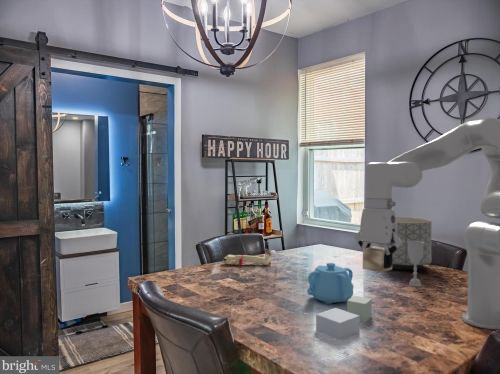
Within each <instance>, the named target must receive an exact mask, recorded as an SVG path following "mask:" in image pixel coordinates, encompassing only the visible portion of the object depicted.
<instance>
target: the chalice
mask: <svg viewBox="0 0 500 374" xmlns="http://www.w3.org/2000/svg"><path fill="white" fill-rule="evenodd" d="M407 243H408V255H409V258H410V260H411V262H412V263H413V264H414V268H413V272H412V273H413V278H411V279H410V281H409V283H408V285H409V286H412V287H422V285H423V284H422V283H421V280H420V279H419V278H417V275H418V272H417V271H418V268H417V267H416V266H417V264H419V262H420V260H421V259H422V256H423V244H424V242H422V241H407Z"/></svg>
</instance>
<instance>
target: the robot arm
mask: <svg viewBox="0 0 500 374" xmlns="http://www.w3.org/2000/svg"><path fill="white" fill-rule="evenodd" d="M477 149H481V151H482V153H483V155H484V157H485V158H486V160H487V162H488V163H489V167H490V175H489V178H488V181H487V185H486V187H485V189H484V193H483V195H482V199H481V201H480V212H481V213H482V214H483V216H484V217H487V218H490V219H494V220H497V221H498V220H499V221H500V118H495V117H485V118H480V119H474V120H473V119H472V120H470V121H466V122H463V123H461V124H460V125H458V126H456V127H455V128H453V129H451V130H449V131H448V132H445V133H444V134H442V135H440V136H438V137H437V138H435V139H432V140H431V141H429V142H427V143H424V144H422V145H420V146H418V147H416V148H413V149H410V150H409V151H406V152H404V153H402V154H400V155H399V156H396V157H394V158H393V159H391V160H389V161H388V162H383V161H381V162H369V163H367V164H366V165H365V171H364V172H365V175H364V176H365V177H364V180H365V181H364V183H365V184H364V208H363V209H362V211H361V218H360V226H359V231H358V232H357V233H356V234H355V235H354V239H355V241H356V242H357V244H358V246H359V247H360V248H361V251H363V248H368V247H372V245H373V244H376V245H377V244H383V246H384V249H385V252H386V254H384V268H386V269H387V268H390V267H391V266H392V258H393V254H394V252H395V251H396V250H397V249H398V248H399V247H401V246H402V245H403V242H402V240H401V239H400V238H399V237H398V233H397V220H396V217H397V216H396V211H395V209H393V207H395V206H396V204H397V202H396V201H393V198H392V197H393V187H394V188H407V189H409V188H412V187H414V186H415V187H416V186H417V185H419V184H420V183H421V180H422V179H423V171H427V170H432V169H438V168H441V167H444V166H445V167H446V166H448V165H451V164H452V163H454V162H455V161H457V160H459V159H460V158H462V157H464V156H466V155H468V154H469V153H471V152H472V151H474V150H477ZM392 243H395V245H394V246H393V245H392ZM464 243H465V247H466V255H467V308H466V309H467V311H466V312H464V313H461V320H462V321H464V322H465V324H468V325H471V326H474V327H477V328H481V329H487V330H500V223H499V222H493V221H486V220H479V221H475V222H472V223H470V224H469V225H468V226H467V227H466V229H465V231H464Z"/></svg>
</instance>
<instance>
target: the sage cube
mask: <svg viewBox="0 0 500 374" xmlns="http://www.w3.org/2000/svg"><path fill="white" fill-rule="evenodd" d="M372 303H373V299H372V298H369V297H368V298H367V297H362V296H357V295H352V297H351V298H350V299H349V300H347V303H346V307H347V308H346V310H347V312H350V313H353V314H356V315H359V316H360V323H361V322H362V323H367V322H368V321H369V320H370V319H371V318H372V315H373V313H372V311H373V310H372V309H373V307H372V306H373V305H372Z"/></svg>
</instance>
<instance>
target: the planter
mask: <svg viewBox="0 0 500 374" xmlns="http://www.w3.org/2000/svg"><path fill="white" fill-rule="evenodd" d="M396 220H397V233H398V237H399V238H400V239H401V240H402V242H403V245H402V246H401V247H399V248H398V249H397V250H396V251H395V252H394V254H393V258H392V269H395V270H401V271H402V270H403V271H412V270H413V271H414V269H413V268H414V264H413V263H412V262H411V260H410V258H409V255H408V243H407V241H422V242H424V244H423V256H422V259H421V260H420V262H419V264H417V266H416V267H417V269H419V268H422V267H423V266H424V265H429V264H431V263H432V220H431V219H428V218H424V217H423V218H422V217H412V216H396ZM392 245H393V246H394V245H395V243H392ZM376 247H382V248H384V246H383V244H376Z"/></svg>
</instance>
